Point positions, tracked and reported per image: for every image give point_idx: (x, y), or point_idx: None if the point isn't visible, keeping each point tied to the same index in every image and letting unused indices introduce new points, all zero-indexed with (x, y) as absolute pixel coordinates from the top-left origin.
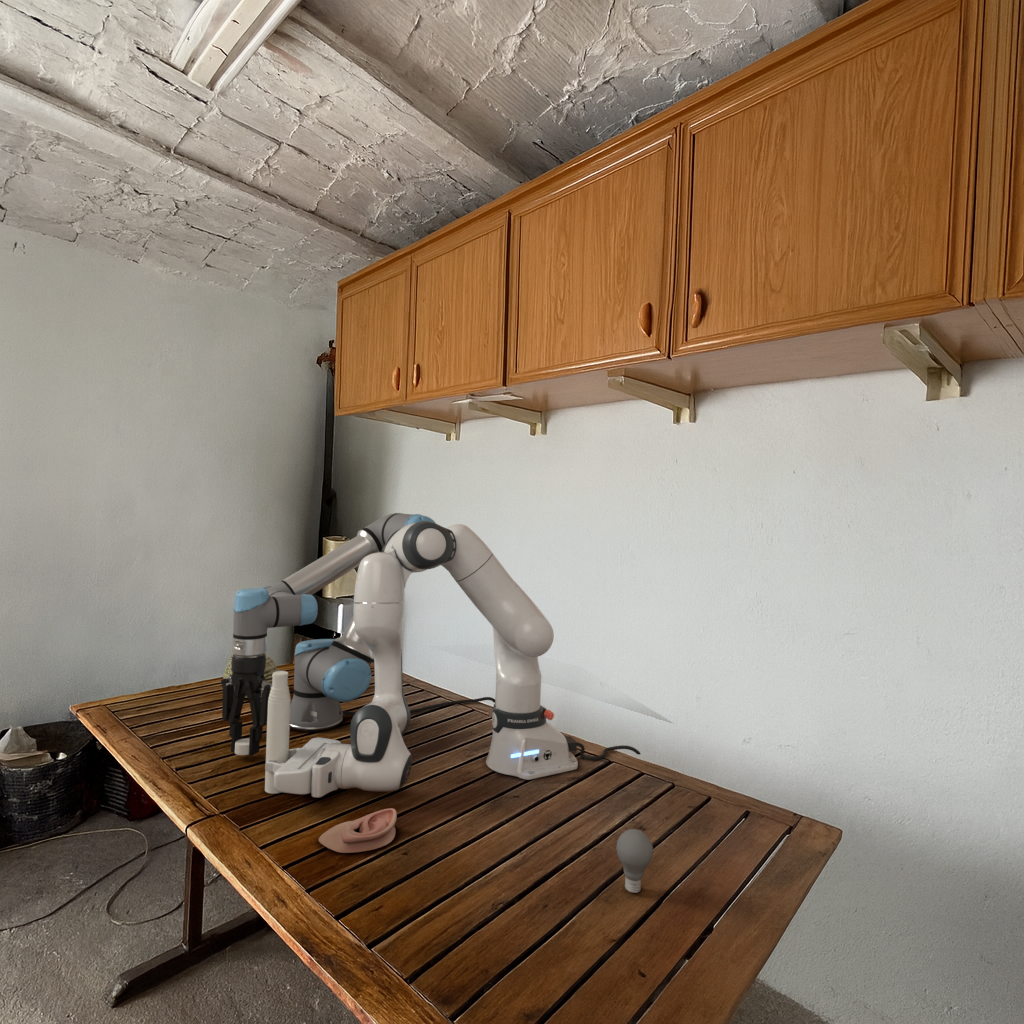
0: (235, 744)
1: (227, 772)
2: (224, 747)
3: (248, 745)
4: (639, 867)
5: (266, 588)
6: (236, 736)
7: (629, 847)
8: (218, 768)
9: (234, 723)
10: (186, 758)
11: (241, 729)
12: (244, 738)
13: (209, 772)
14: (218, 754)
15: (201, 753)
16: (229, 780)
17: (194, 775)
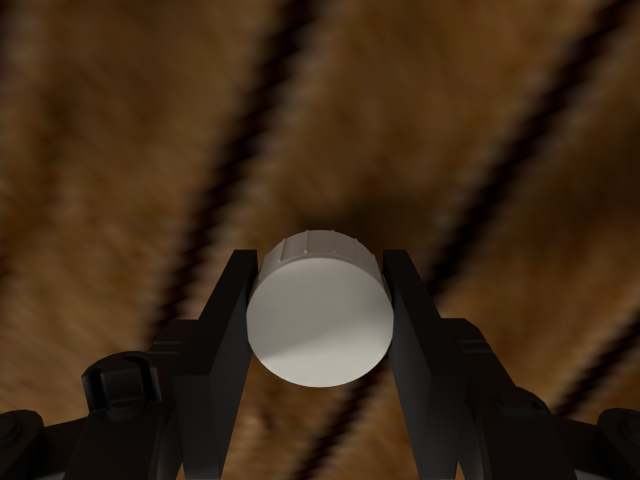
0: (278, 370)
1: (347, 414)
2: (62, 159)
3: (380, 356)
4: None
5: None
6: (242, 364)
7: None
8: (273, 396)
9: (180, 454)
10: (23, 361)
11: (229, 334)
12: (268, 278)
13: (267, 438)
14: (126, 263)
15: (27, 285)
16: (412, 467)
17: (230, 477)
